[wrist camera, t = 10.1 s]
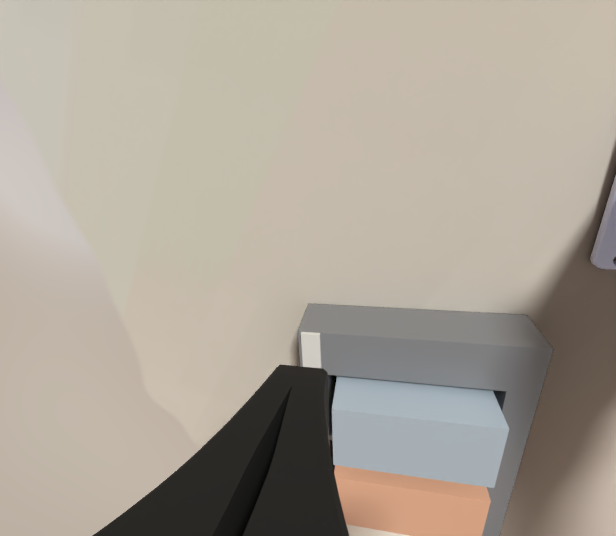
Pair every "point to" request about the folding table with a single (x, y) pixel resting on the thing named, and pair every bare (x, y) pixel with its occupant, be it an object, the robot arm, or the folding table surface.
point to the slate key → (418, 430)
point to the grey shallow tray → (437, 364)
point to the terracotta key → (411, 503)
